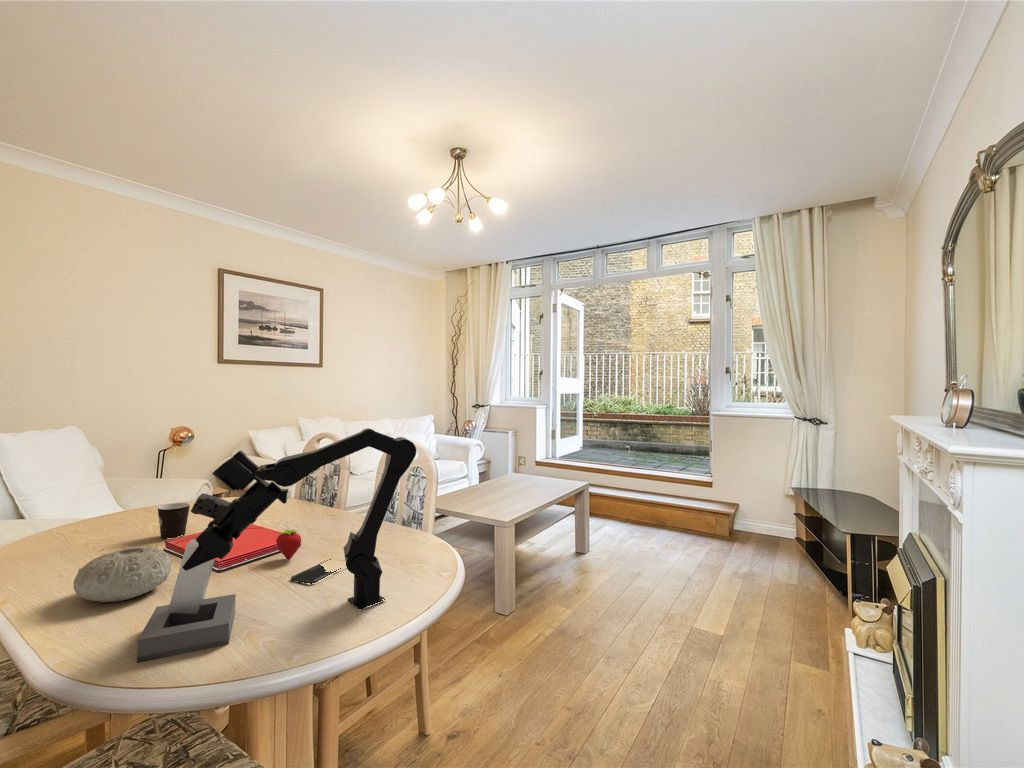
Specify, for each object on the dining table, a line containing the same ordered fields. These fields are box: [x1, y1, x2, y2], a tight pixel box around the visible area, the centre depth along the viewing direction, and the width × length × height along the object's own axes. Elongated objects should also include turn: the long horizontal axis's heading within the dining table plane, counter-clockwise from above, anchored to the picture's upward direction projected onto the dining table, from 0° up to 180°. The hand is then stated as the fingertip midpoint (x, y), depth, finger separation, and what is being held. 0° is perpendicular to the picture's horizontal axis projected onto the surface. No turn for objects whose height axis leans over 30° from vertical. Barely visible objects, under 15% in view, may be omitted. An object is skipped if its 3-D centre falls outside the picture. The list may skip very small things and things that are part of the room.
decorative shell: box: [73, 546, 172, 603], centre depth 108 cm, size 18×18×10 cm
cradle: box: [136, 593, 237, 663], centre depth 91 cm, size 14×14×4 cm
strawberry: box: [275, 525, 302, 560], centre depth 132 cm, size 6×8×10 cm
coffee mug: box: [157, 502, 191, 540], centre depth 149 cm, size 12×9×10 cm
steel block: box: [167, 538, 216, 614], centre depth 93 cm, size 5×5×13 cm
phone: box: [290, 558, 341, 584], centre depth 123 cm, size 8×1×15 cm
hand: (187, 564), depth 92 cm, fingers closed on steel block, 5 cm apart
